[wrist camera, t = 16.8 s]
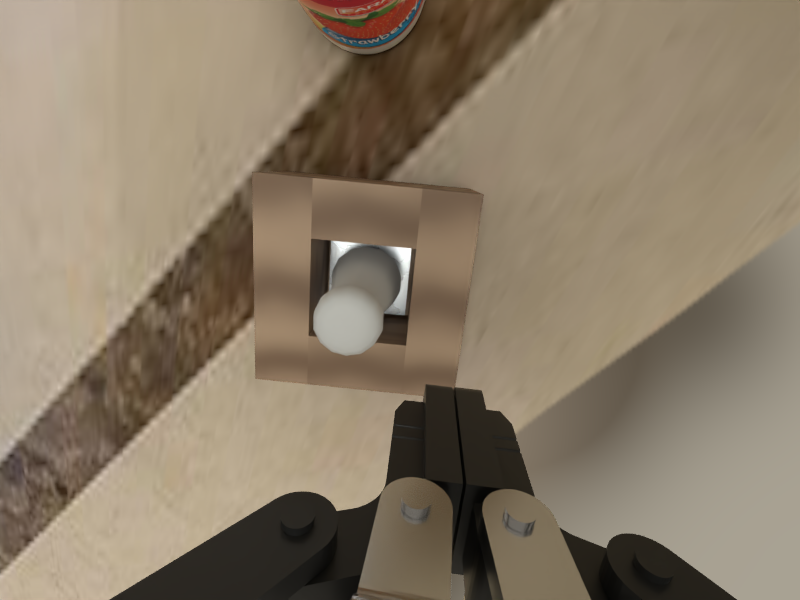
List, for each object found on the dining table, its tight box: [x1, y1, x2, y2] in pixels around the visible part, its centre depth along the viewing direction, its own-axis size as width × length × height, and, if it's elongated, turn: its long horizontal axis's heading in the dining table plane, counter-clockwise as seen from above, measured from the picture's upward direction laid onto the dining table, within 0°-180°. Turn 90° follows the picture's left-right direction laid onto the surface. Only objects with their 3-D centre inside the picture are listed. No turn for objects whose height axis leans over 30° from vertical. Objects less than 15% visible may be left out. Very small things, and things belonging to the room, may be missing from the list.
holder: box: [252, 171, 484, 396], centre depth 35 cm, size 16×16×8 cm
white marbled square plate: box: [329, 241, 412, 315], centre depth 37 cm, size 7×7×1 cm
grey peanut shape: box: [313, 246, 401, 356], centre depth 30 cm, size 6×6×13 cm
